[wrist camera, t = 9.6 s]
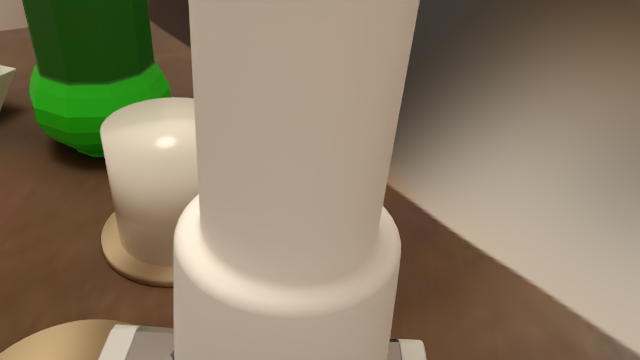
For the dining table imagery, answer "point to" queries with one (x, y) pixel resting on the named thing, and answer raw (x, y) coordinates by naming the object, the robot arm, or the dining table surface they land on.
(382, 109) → the cosmetic bottle
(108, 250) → the coaster
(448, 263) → the dining table surface
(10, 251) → the dining table surface
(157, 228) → the white cylinder
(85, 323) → the coaster free
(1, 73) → the figurine
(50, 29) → the plastic bottle
